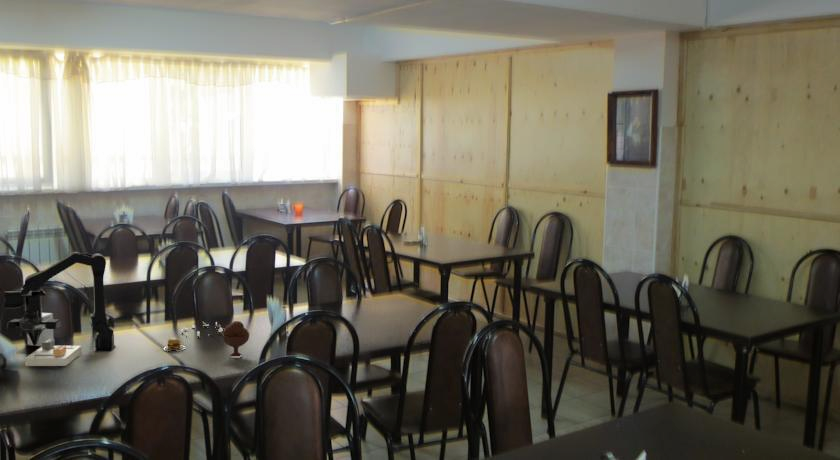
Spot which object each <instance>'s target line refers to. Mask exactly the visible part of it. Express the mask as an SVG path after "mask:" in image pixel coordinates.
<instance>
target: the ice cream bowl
mask: <svg viewBox="0 0 840 460" xmlns="http://www.w3.org/2000/svg"><path fill="white" fill-rule="evenodd" d="M223 329H224V331H223V332H222V333H221V335H222V339H223V342H224V343H225V345H228V346H229V347H231V348H233V353H231V354H229V355H230V356H240V355H241V354H242V353H240V352H239V348H241V347H242V346H244V344H246V343H247V342H248V341H249V339H250V332H249V331H248V329H247V328H245V325H244V324H243V323H242V322H241V321H239V320H235V321H233V322H231V323H230V324H228V325H226V326H225V328H223Z"/></svg>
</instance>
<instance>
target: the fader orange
mask: <svg viewBox="0 0 840 460" xmlns="http://www.w3.org/2000/svg"><path fill="white" fill-rule="evenodd" d="M56 346H57V347H56V348H55V349H53V356H62V355H64V354H65V353H66V346H67V345H56Z"/></svg>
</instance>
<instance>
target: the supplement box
mask: <svg viewBox="0 0 840 460" xmlns="http://www.w3.org/2000/svg"><path fill="white" fill-rule="evenodd" d="M42 318H43V321H42V322H47V321H48V320H50V319H54V313H52V312H42ZM35 327H36V326H35ZM26 334H27V346H36V347H42V342H44V341H45V340H47V339H54V329H47V328H45V329H44V330H43V331H42V333H41V335H40V337H39V340H38V342H37V345H33V343H32V341H31V339H30V337H29V335H28V333H27V332H26Z"/></svg>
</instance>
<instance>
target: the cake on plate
mask: <svg viewBox="0 0 840 460" xmlns="http://www.w3.org/2000/svg"><path fill="white" fill-rule="evenodd" d="M181 346H183V347H185V348H182V347H181ZM166 347H168V348H167V350H166V349H165V348H166ZM181 348H182V349H181ZM168 349H169V350H168ZM178 349H179V350H178ZM185 349H186V346H185V345H182V343H181V339H179V338H178V337H170V338H169V339H168V341H167V346H165V347H163V351H165V352H168V351H171V350H176V351H178V352H181V350H182V351H184V350H185Z"/></svg>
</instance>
